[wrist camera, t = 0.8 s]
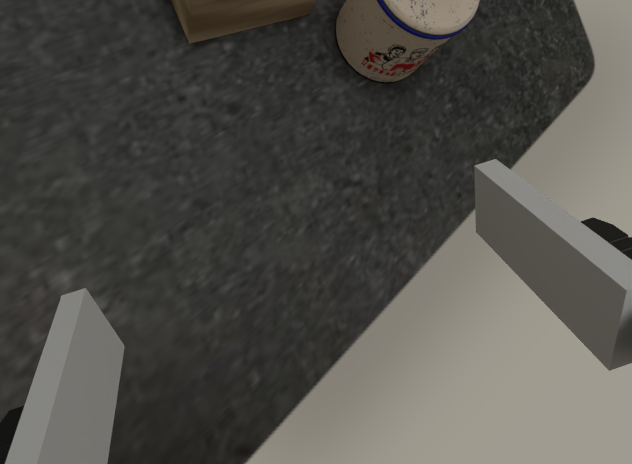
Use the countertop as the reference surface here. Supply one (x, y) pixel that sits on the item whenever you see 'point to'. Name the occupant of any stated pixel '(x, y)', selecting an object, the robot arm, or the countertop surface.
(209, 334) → the countertop surface
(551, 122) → the countertop surface
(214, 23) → the oak riser
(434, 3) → the teacup with lid
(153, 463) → the countertop surface
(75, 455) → the robot arm
